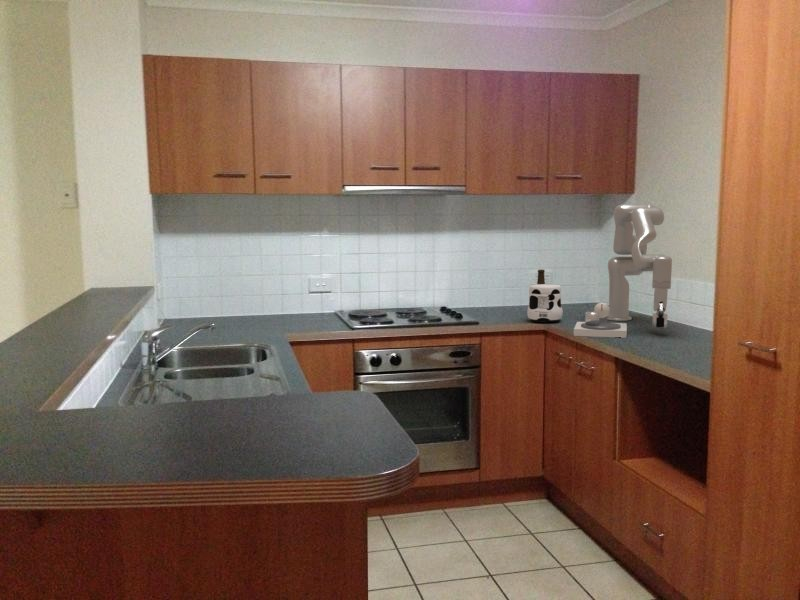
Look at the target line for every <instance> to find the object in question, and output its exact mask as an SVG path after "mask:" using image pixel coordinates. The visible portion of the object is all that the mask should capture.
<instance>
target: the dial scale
mask: <svg viewBox="0 0 800 600" xmlns="http://www.w3.org/2000/svg"><path fill="white" fill-rule="evenodd" d="M593 312H599V325H597V326H589V325H585V321H576V324H575V325H574V328H573V337H589V338H591V337H595V338H615V337H621V338H620V339H626V338H627V336H628V335H627V333H628V332H627V331H628V330H627V326H628V325H627V323H625V322H608V320H607V319H608V316H609V313H610V308H609V304H607V303H605V302H599V303H597V304H596V305H594V308H593Z"/></svg>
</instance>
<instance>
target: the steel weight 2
mask: <svg viewBox="0 0 800 600" xmlns="http://www.w3.org/2000/svg"><path fill="white" fill-rule="evenodd" d="M656 318H657V312H656V313H652V323H651V325H652V326H651V327H652V328H657V329H666V328H668V314H667V313H664V327H656Z"/></svg>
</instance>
